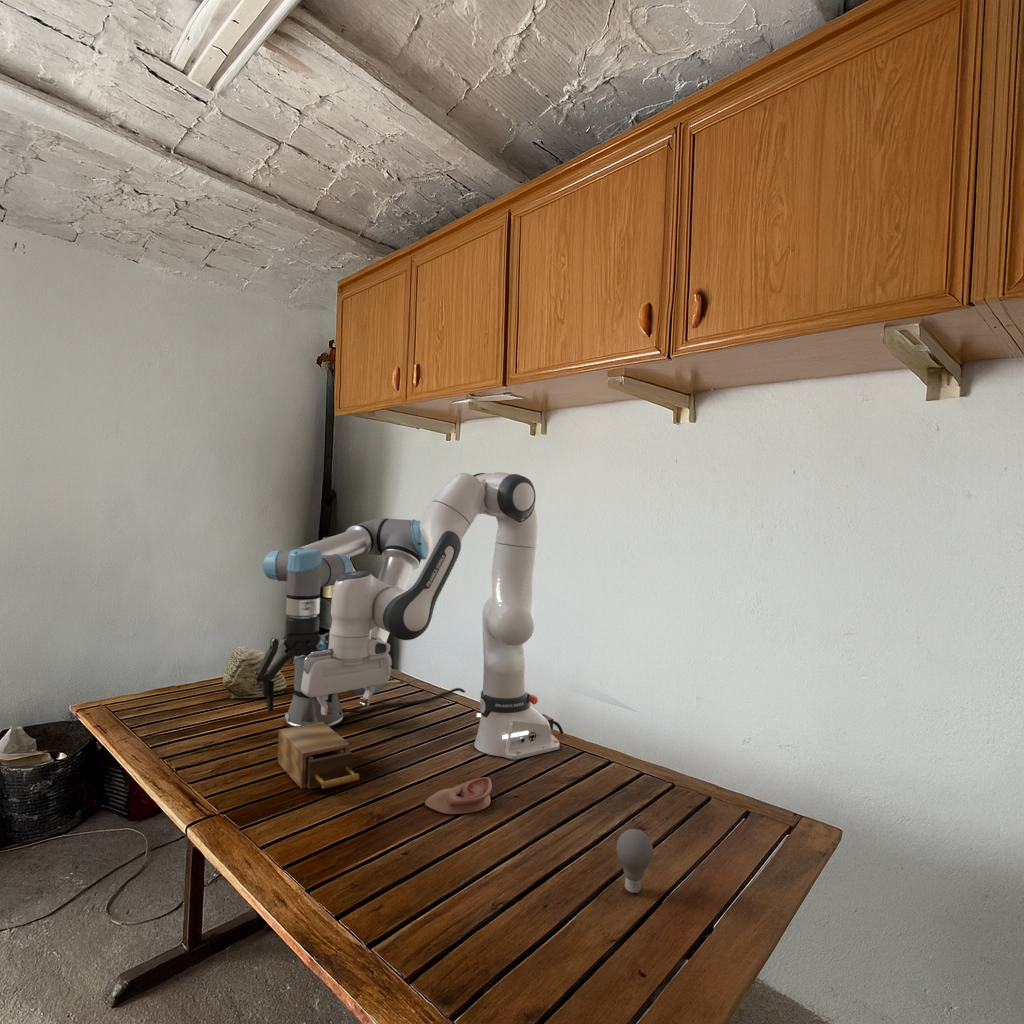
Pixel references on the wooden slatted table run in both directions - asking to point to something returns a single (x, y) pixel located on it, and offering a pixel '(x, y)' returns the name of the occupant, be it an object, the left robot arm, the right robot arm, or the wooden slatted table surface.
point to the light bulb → (634, 857)
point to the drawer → (329, 769)
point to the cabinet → (306, 747)
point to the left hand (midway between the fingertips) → (299, 705)
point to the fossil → (248, 674)
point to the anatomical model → (462, 797)
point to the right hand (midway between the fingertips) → (345, 710)
